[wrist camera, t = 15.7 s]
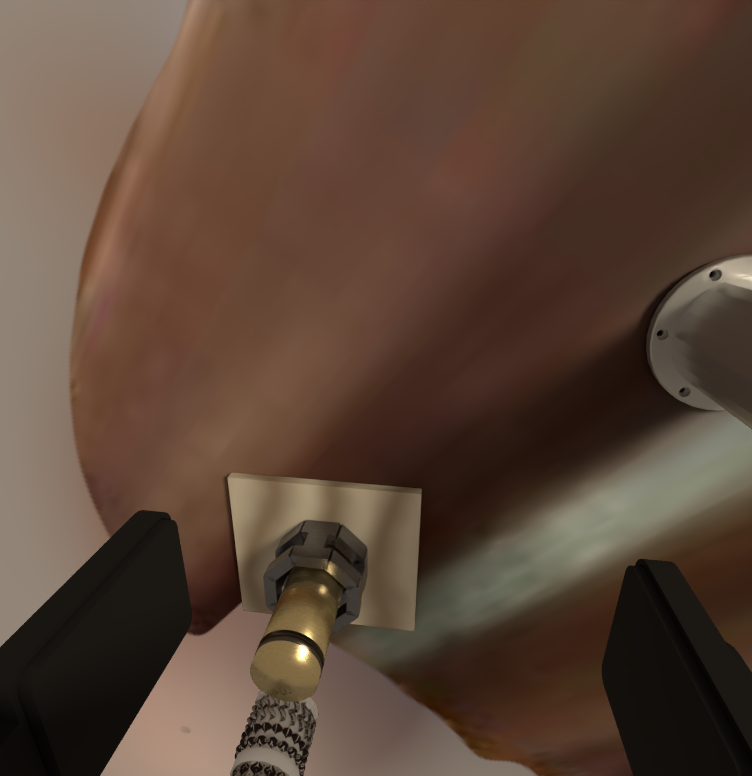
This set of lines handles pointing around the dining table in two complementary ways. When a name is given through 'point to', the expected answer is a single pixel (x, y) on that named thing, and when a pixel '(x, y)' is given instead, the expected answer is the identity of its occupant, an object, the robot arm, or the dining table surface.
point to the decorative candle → (276, 738)
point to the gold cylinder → (298, 634)
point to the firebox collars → (321, 564)
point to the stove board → (345, 506)
